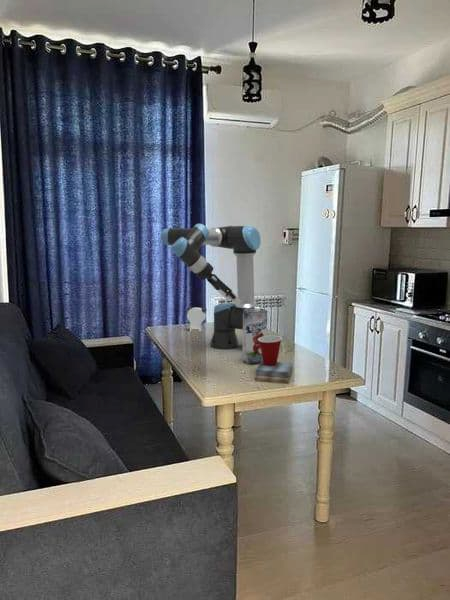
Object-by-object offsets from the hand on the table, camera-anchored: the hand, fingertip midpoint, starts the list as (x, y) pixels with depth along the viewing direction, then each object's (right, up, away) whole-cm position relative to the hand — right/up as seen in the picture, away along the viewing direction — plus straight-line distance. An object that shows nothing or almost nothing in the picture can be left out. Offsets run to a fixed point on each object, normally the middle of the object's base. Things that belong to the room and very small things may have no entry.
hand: (234, 301), depth 205 cm
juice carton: (+10, -29, +18) cm, 36 cm away
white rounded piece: (-22, -19, +82) cm, 87 cm away
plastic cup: (+16, -28, 0) cm, 32 cm away
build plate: (+17, -32, -2) cm, 37 cm away
